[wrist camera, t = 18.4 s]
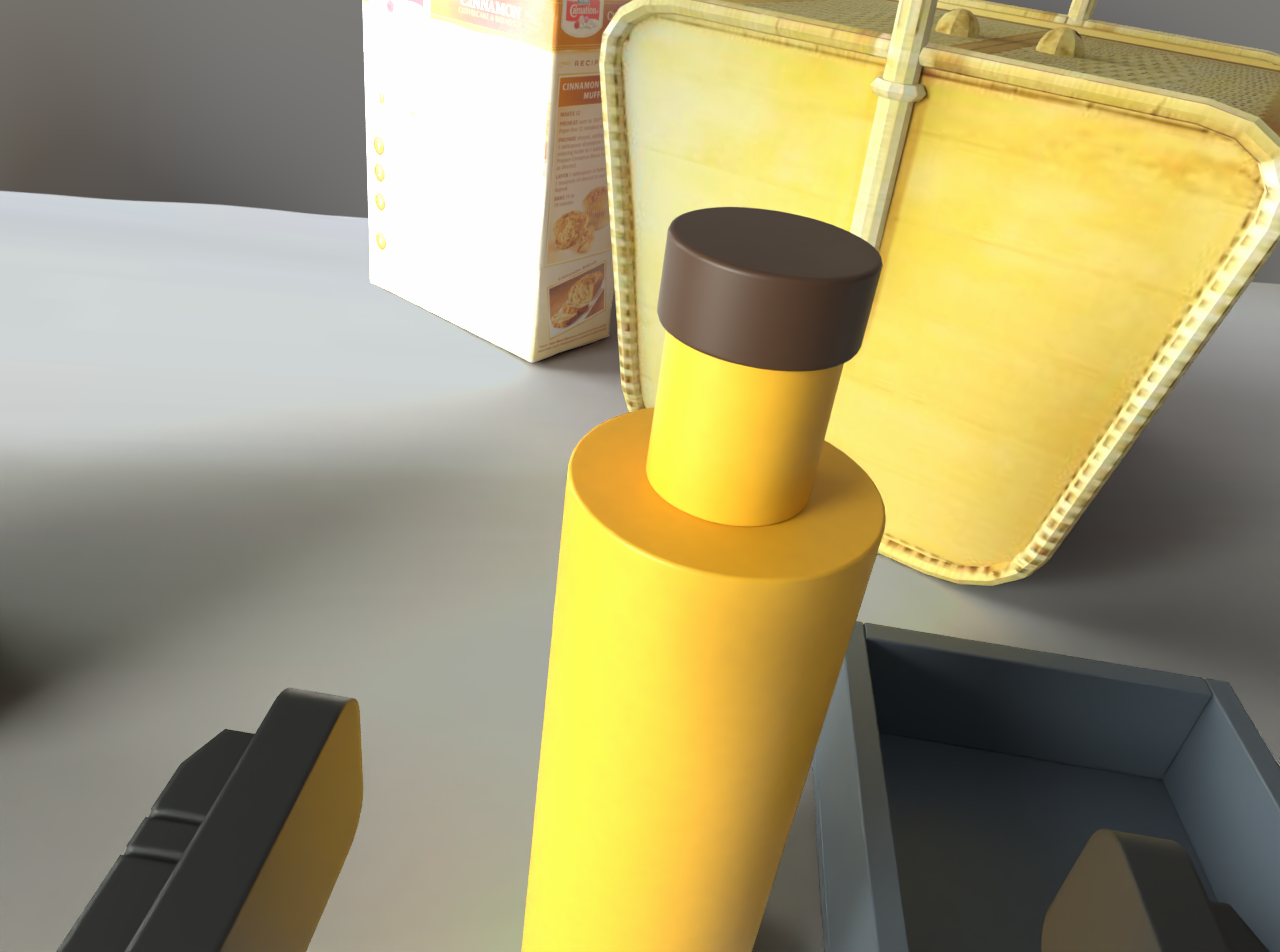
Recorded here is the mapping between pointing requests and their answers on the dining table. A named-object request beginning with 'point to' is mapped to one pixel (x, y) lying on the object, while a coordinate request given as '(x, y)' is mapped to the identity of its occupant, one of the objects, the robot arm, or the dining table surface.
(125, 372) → the dining table surface
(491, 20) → the coffeecake box
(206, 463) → the dining table surface
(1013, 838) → the tub
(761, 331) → the bottle
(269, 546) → the dining table surface
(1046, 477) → the picnic basket
